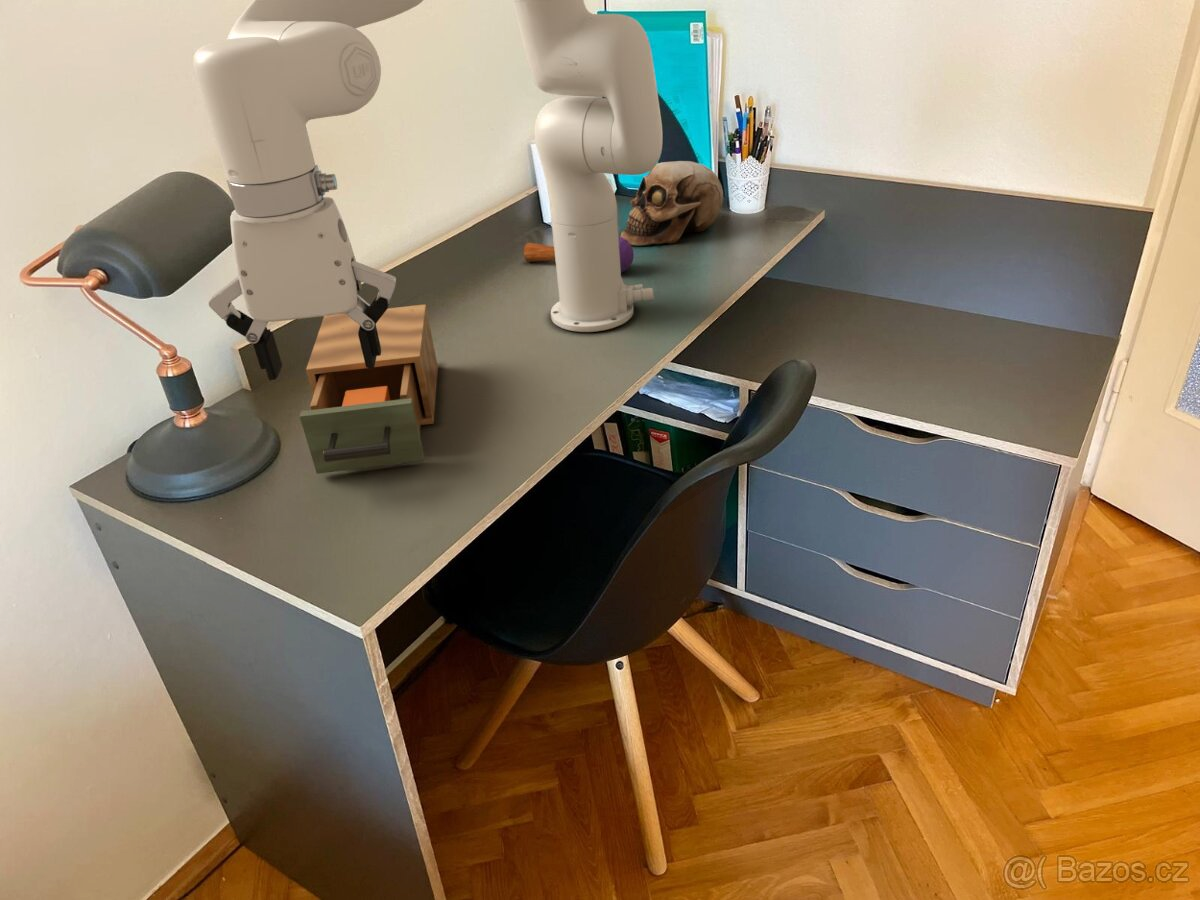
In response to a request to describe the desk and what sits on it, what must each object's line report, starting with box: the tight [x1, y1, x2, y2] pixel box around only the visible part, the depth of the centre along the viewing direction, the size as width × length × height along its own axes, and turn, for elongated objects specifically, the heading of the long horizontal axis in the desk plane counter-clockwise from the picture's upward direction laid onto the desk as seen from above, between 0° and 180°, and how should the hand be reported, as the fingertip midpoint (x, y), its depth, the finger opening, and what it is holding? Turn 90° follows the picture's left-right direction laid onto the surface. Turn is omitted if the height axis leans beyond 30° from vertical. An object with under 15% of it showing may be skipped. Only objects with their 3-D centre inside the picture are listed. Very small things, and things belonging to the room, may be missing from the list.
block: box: [342, 386, 391, 406], centre depth 107 cm, size 5×5×5 cm
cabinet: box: [305, 303, 439, 426], centre depth 117 cm, size 16×14×10 cm
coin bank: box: [619, 160, 724, 247], centre depth 162 cm, size 16×17×13 cm
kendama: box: [523, 236, 635, 273], centre depth 153 cm, size 6×6×20 cm
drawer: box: [299, 362, 425, 475], centre depth 106 cm, size 19×12×8 cm, turn 7°
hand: (324, 367), depth 88 cm, fingers open, 9 cm apart
